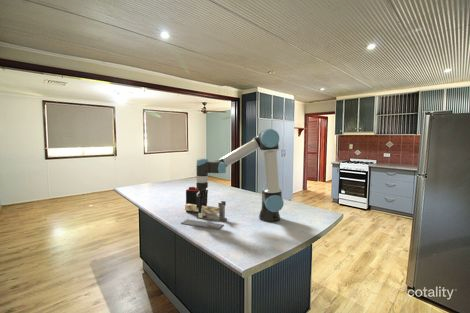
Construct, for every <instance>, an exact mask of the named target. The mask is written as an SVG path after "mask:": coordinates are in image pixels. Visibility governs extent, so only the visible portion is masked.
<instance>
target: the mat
mask: <svg viewBox="0 0 470 313" xmlns="http://www.w3.org/2000/svg"><path fill="white" fill-rule="evenodd" d="M180 224H181V225H186V226H191V227H199V228H204V229H210V230H211V229H212V230H216V231H217V230H218V231H219V230H220V229H222V228H223V227H224V224H222V223H215V222H207V221H203V220H202V221H201V220H193V219H185V220H184V221H181V222H180Z"/></svg>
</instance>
